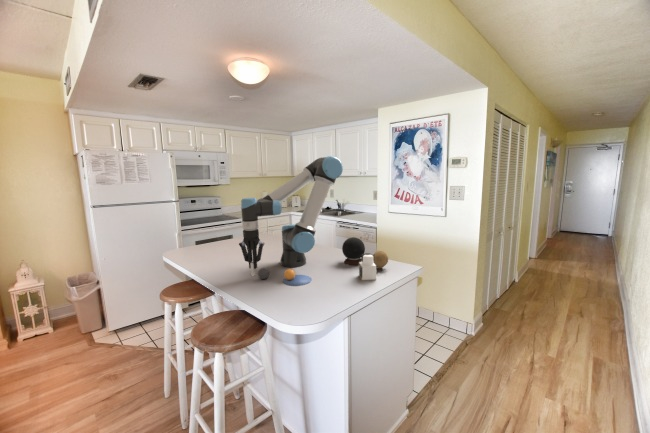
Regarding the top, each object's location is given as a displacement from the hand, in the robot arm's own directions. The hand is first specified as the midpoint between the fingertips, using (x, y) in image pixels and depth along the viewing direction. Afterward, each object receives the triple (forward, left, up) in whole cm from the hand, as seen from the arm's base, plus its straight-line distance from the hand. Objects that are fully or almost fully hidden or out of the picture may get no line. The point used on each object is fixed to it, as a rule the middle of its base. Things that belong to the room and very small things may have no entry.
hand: (253, 274), depth 145 cm
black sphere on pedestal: (-48, -31, -2) cm, 57 cm away
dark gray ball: (-6, 0, +1) cm, 6 cm away
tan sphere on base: (-63, -22, -2) cm, 67 cm away
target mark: (-23, 0, -2) cm, 23 cm away
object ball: (-19, 0, +1) cm, 19 cm away
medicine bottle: (-57, -8, -2) cm, 58 cm away
